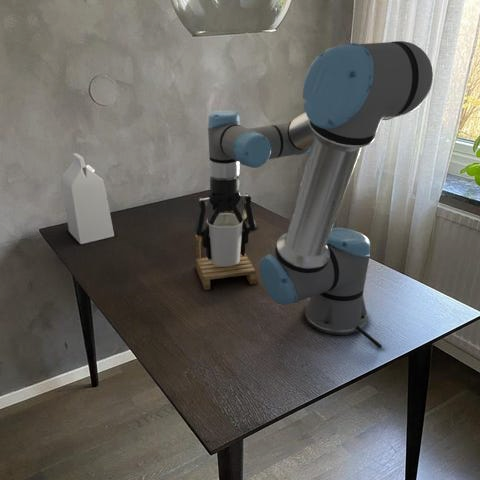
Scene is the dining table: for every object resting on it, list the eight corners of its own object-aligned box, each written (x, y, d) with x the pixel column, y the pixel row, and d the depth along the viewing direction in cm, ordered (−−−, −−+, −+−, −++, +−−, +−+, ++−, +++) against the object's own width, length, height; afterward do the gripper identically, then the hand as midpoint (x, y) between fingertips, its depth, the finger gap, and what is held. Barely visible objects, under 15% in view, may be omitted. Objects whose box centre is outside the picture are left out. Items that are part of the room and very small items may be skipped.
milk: (68, 231, 172) (53, 153, 158) (101, 224, 178) (89, 148, 163) (80, 244, 164) (65, 163, 150) (114, 236, 169) (102, 157, 155)
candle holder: (202, 265, 140) (200, 224, 134) (215, 250, 148) (214, 211, 141) (236, 270, 138) (236, 229, 131) (247, 255, 146) (247, 215, 139)
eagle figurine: (227, 220, 178) (237, 224, 170) (236, 201, 177) (246, 205, 169) (245, 229, 182) (255, 234, 174) (254, 210, 181) (264, 215, 173)
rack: (255, 283, 143) (256, 248, 137) (204, 290, 140) (203, 254, 134) (243, 262, 154) (244, 229, 148) (196, 268, 151) (194, 234, 145)
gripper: (261, 168, 135) (259, 245, 147) (180, 174, 130) (185, 253, 143) (269, 177, 129) (266, 257, 141) (184, 184, 124) (189, 266, 137)
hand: (225, 255), depth 142 cm, fingers closed on candle holder, 9 cm apart
